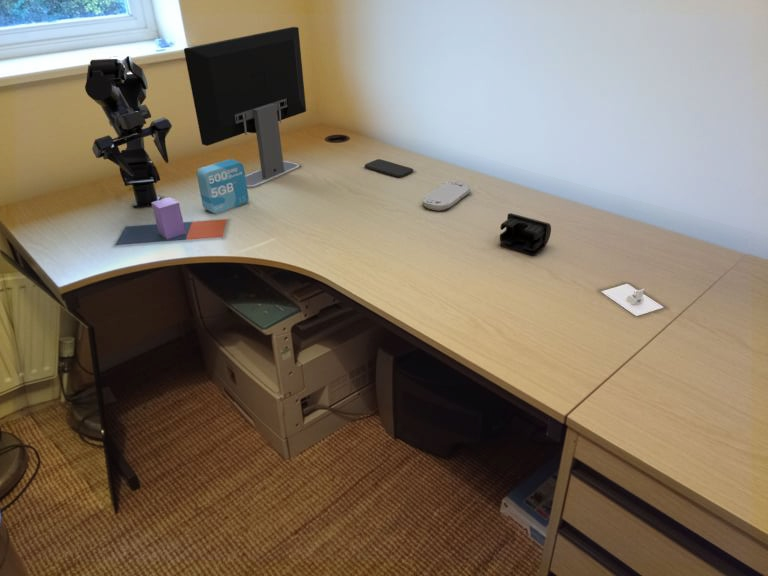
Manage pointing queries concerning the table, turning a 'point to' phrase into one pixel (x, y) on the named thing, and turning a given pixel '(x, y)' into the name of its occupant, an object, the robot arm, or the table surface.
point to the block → (168, 217)
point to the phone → (389, 168)
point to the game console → (446, 195)
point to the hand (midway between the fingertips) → (150, 168)
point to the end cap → (524, 234)
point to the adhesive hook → (632, 299)
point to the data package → (222, 185)
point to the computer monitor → (249, 92)
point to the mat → (192, 232)
